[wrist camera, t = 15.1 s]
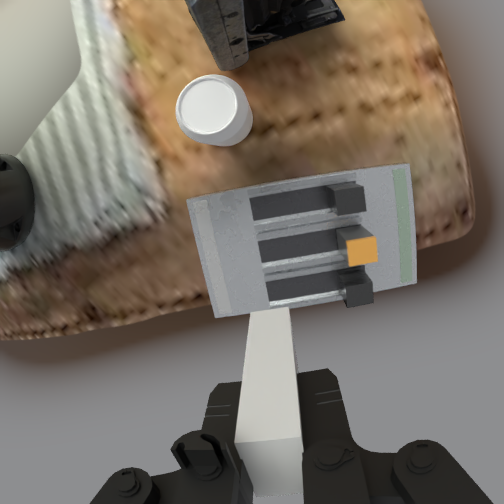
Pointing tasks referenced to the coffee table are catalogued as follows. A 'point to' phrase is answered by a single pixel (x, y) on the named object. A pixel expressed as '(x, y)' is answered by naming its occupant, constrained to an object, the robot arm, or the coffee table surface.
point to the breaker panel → (304, 239)
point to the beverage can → (214, 111)
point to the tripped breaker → (357, 245)
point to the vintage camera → (256, 24)
